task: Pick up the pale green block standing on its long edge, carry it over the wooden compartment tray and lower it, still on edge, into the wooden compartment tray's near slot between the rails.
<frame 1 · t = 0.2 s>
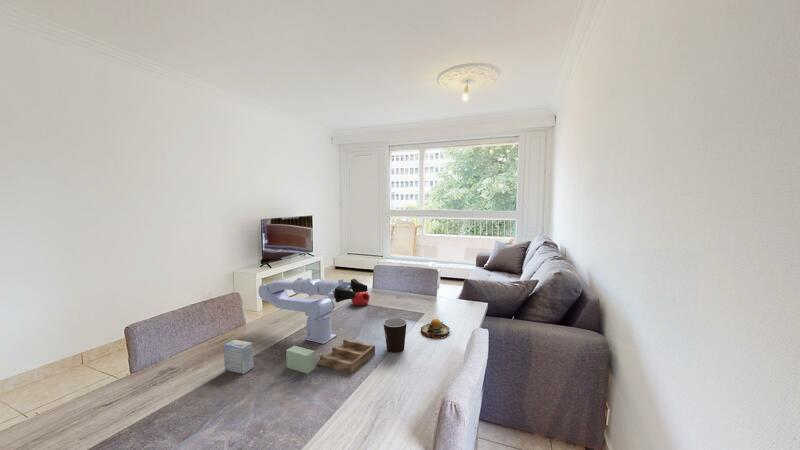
hand: (361, 291, 110), 21 cm above the table, tool horizontal, fingers open, 7 cm apart
burger: (435, 333, 125), on the table
coffee mug: (396, 347, 113), on the table
pomegranate: (360, 304, 162), on the table
wooden compartment tray: (347, 358, 105), on the table
pale green block: (301, 368, 100), on the table
medicine box: (239, 369, 99), on the table
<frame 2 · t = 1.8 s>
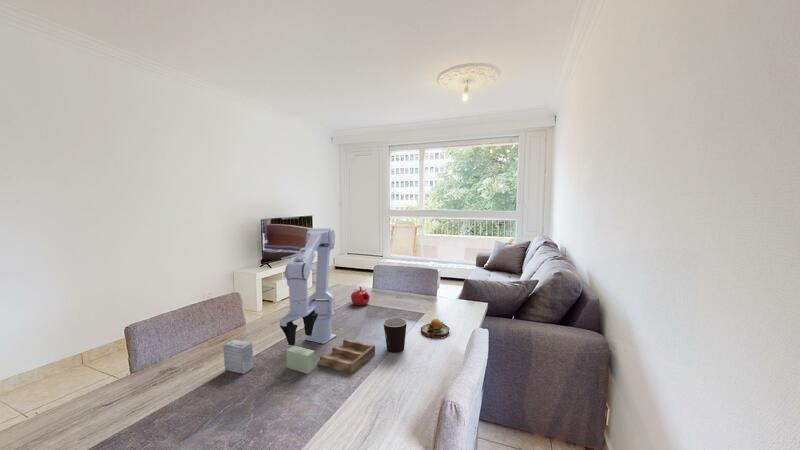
hand: (300, 339, 99), 9 cm above the table, tool pointing down, fingers open, 7 cm apart
nothing on the table moved.
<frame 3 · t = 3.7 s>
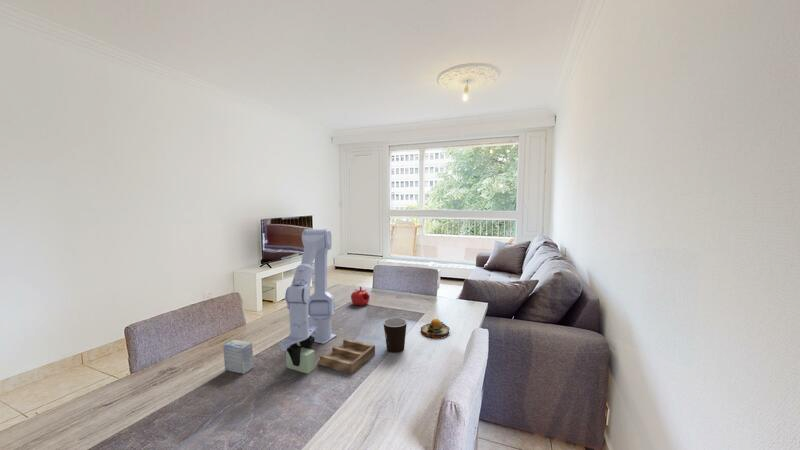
hand: (300, 362, 99), 2 cm above the table, tool pointing down, fingers closed on pale green block, 3 cm apart
pale green block: (300, 367, 100), on the table, touching gripper
everything else where it was.
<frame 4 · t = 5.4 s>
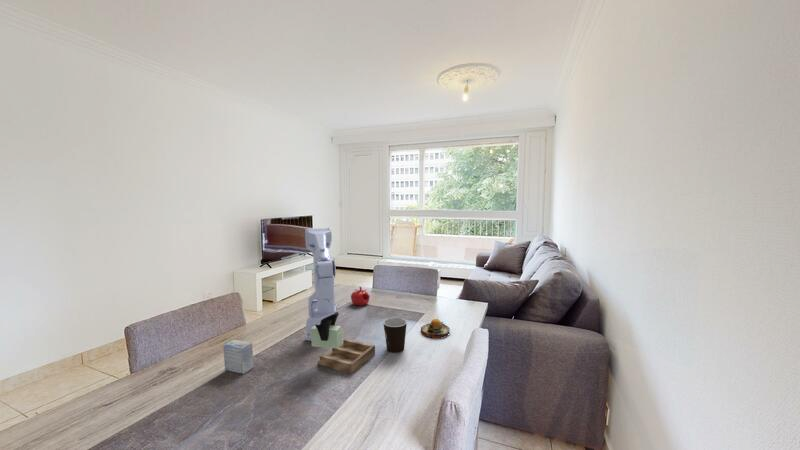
hand: (327, 337, 100), 9 cm above the table, tool pointing down, fingers closed on pale green block, 3 cm apart
pale green block: (326, 344, 101), point 7 cm above the table, touching gripper
everything else where it was.
when the fingers open (4 cm above the table, at t = 7.5 s): pale green block stays where it is, resting on wooden compartment tray.
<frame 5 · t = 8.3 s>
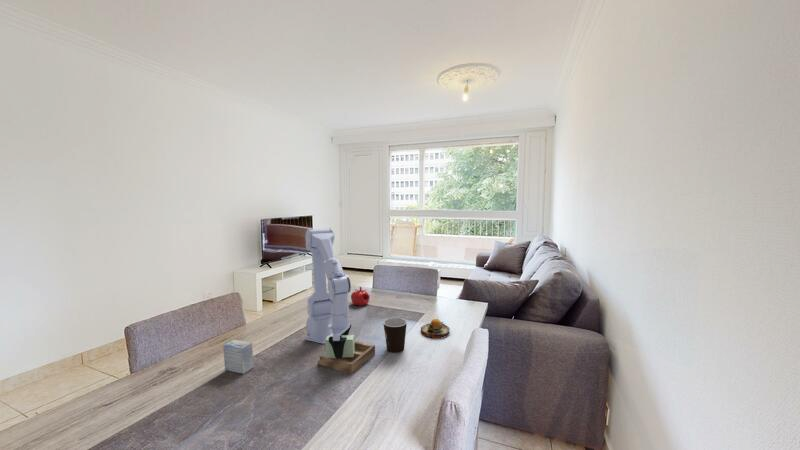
hand: (341, 352, 102), 4 cm above the table, tool pointing down, fingers open, 7 cm apart
pale green block: (340, 354, 102), point 3 cm above the table, touching wooden compartment tray
everything else where it was.
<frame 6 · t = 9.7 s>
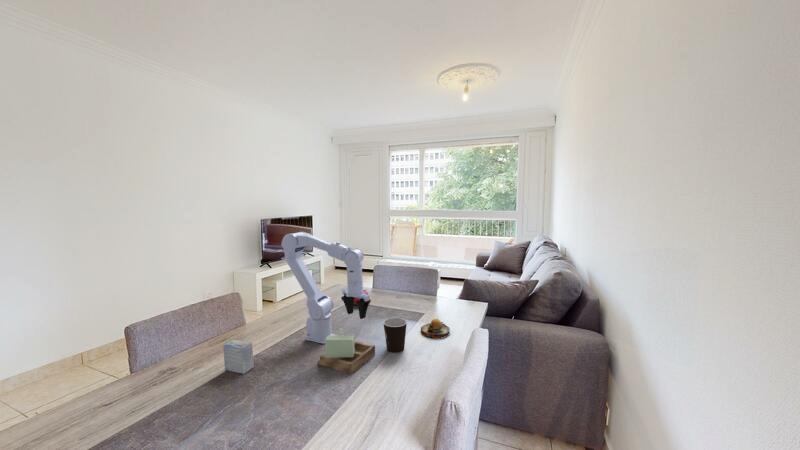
hand: (356, 315, 117), 10 cm above the table, tool pointing down, fingers open, 7 cm apart
nothing on the table moved.
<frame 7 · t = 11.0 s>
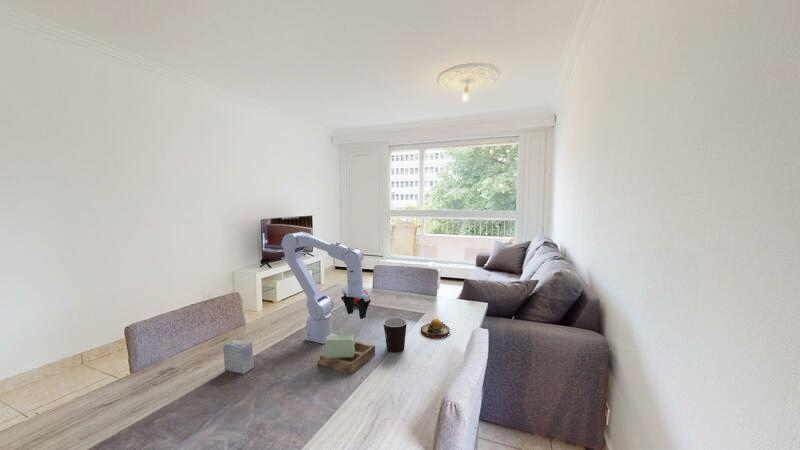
hand: (356, 315, 117), 10 cm above the table, tool pointing down, fingers open, 7 cm apart
nothing on the table moved.
at the end: pale green block inside the target area on the wooden compartment tray (0.2 cm from its centre), point 3.0 cm above the wooden compartment tray's base; pale green block tilted 0°; the gripper is holding nothing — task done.
